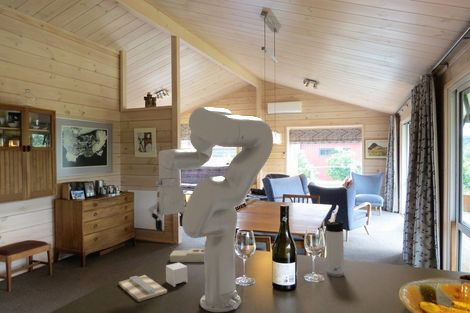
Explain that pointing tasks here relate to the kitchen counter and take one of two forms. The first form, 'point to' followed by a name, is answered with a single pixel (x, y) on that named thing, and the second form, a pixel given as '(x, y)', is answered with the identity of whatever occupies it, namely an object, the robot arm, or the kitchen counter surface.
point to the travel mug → (334, 249)
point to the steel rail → (142, 285)
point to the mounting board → (138, 292)
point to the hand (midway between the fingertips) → (171, 228)
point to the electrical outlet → (187, 255)
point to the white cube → (176, 274)
